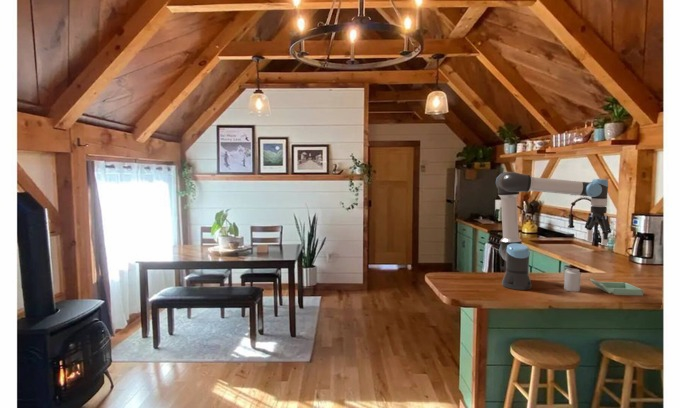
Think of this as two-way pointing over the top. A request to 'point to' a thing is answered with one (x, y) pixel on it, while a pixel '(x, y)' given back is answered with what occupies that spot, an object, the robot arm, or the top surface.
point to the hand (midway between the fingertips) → (596, 243)
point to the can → (572, 280)
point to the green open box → (622, 288)
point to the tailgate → (600, 285)
